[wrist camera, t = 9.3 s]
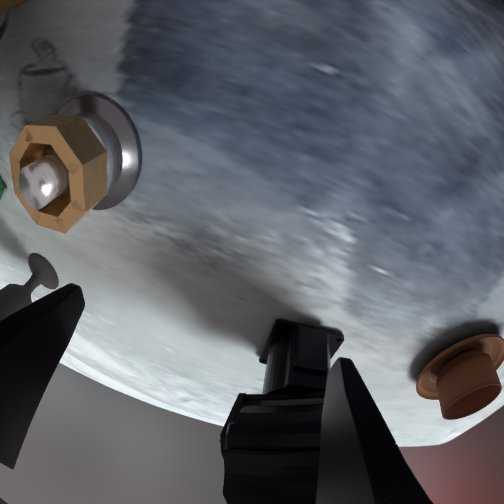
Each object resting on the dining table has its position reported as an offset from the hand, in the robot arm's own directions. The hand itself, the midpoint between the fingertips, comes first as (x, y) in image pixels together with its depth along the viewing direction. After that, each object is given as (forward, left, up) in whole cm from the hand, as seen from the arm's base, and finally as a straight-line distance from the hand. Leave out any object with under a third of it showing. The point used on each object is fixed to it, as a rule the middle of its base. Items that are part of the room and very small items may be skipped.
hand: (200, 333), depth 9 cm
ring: (0, +12, -9) cm, 15 cm away
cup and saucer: (-12, -27, -12) cm, 32 cm away
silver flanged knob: (0, +13, -12) cm, 17 cm away
